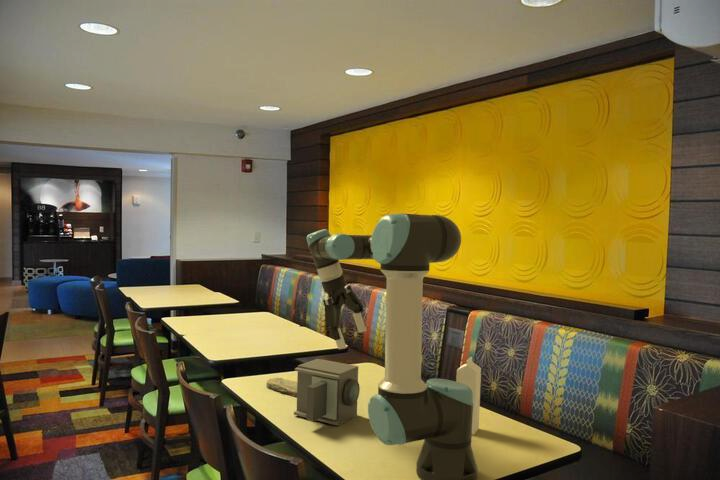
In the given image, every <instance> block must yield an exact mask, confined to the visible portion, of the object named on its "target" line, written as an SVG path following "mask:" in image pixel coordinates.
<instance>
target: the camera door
mask: <svg viewBox="0 0 720 480" xmlns="http://www.w3.org/2000/svg"><path fill="white" fill-rule="evenodd" d="M337 387H338V380H333V379H329V378H324V377H319V376H314V375H313V376H312V385H310V386H307V418H306V421H310V422H314V421H317V419H319V418H321V417H325V418H329V419H333V420H336V419H337Z"/></svg>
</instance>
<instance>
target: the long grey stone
mask: <svg viewBox="0 0 720 480" xmlns="http://www.w3.org/2000/svg"><path fill="white" fill-rule="evenodd" d="M265 387H266V388H267V389H271V390H273V391H276V392H280V393H282V394H286V395H288V394H289V396H292V395H293V397H295V398H297V381H294V380H289V379H285V378H283V377H281V378H280V377H273V378H269V379H267V381H266V386H265Z"/></svg>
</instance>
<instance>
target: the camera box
mask: <svg viewBox="0 0 720 480" xmlns="http://www.w3.org/2000/svg"><path fill="white" fill-rule="evenodd" d="M294 371H295V372H297V380H296V382H297V397H296V410H295V411H293V416H294V415H295V416H298V417H301V418H307V386H310V385H312V376H313V375H314V376H319V377H324V378H329V379H333V380H338V387H337V419H336V420H333V419H329V418H325V417H321V418H319V419H317V420H316V421H318V422H320V423H321V422H322V423H327V424H329V425H333V426H337V427H339V426H340V425H342V424H345V423H346V422H347V421H350V420H351V419H353V418H356V416H358V399H359V396H360V390H361V387H360V384H359V366H358V365H355V364H354V365H353V364H349V363H343V362H339V361H332V360H327V359H322V358H321V359H320V358H316V359H312V360H310V361H307V362H304V363H301V364H299V365H297V367H295V368H294Z"/></svg>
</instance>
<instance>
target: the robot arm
mask: <svg viewBox="0 0 720 480" xmlns="http://www.w3.org/2000/svg"><path fill="white" fill-rule="evenodd" d="M306 242H307V247H308V248H309V252H310V254H311V256H312V261H313V262H314V266H315V268H316V272H317V274H318V277H319V280H320V281H321V283H320V284H321V286H322V289H323V292H324V293H326V294H327V295H328V296H327V297H326V298H323V300H322V301H323V306H324V319H325V321H324V322H325V330H326V331H328V332H331V334H332V336H333V339H334V341H335V343H336V346H337V349H338V350H343V349H346V348H347V345H346V342H345V339H344V336H343V333H342V330H341V328H340V327H339V320H340V319H339V318H340V309H342V306H343V305H345V307H347V308H348V309H349V310H350V311H352V312H353V313H352V316H353V319H354V322H355V325H356V328H357V332H358V333H365V332H367V328H366V325H365V321H364V319H363V318H364V317H363V315H362V313H361V312H363V311H364V305H363V303H362V302H361V301H360V299H359V298H358V296H357V295H356V294H355V292H354V290H353V289H352V286H351V285H350V284H347V281H346V278H345V275H343V274H344V273H343V272H344V271H343V269H342V266H341V264H340V260H342V261H343V260H344V261H345V260H349V261H350V260H374V261H375V262H376V263H378V264H380V268H379V269H380V272H381V273H382V274H383V275H384V276H385V278H386V288H385V289H386V290H385V291H386V297H385V298H386V300H385V348H384V349H385V352H384V355H385V356H384V377H383V379H381V380H380V382H378V386H377V387H378V390H377V391H378V392H377V393H378V394H374V395H372V396H371V397H370V398H369V401H368V405H367V414H368V421H369V422H370V423H369V424H370V426H371V430H372V431H373V432H374V435H375V436H376V437H377V439H378V440H379V441H380V442H381V443H383V444H384V445H387V446H395V445H399V446H401V445H405V444H409V443H413V442H414V443H415V442H418V441H423V440H424V441H423V444H422V447H421V449H420V452H419V453H418V454H419V455H418V457H417V460H416V468H415V469H416V470H415V472H416V475H417V476H418V478H420V480H478V471H479V470H478V466H477V463H476V462H477V460H476V458H475V454H474V452H473V448H472V447H473V446H472V436H473V435H472V415H473V405H474V404H473V393H472V390H471V389H470V388H469V387H468V386H466V385H464V384H462V383H459V382H456V381H457V380H455V381H454V380H450V379H446V378H430V379H429V378H428V379H427V380H426V382H425V381H424V380H422V347H423V346H422V343H423V342H422V339H423V337H422V335H423V334H422V333H423V331H422V330H423V295H424V294H423V290H424V288H423V286H424V285H423V284H424V282H423V281H424V278H425V277H426V275H427V274H429V273H430V266H431V265H430V264H432V263H433V264H434V263H442V262H446V261H449V260H450V259H452V258H453V257H454V256H455V255H456V254H457V253H458V252H459V249H460V248H461V244H462V235H461V230H460V228H459V227H458V225H457V224H456V222H454V221H453V220H452V219H451V218H449V217H446V216H445V215H444V216H443V215H440V214H439V215H438V214H431V215H430V214H416V213H402V212H401V213H390V214H386V215H384V216H382V217H381V218H380V219H379V220H378V222H377V224H376V225H375V227H374V228H373V231H372V234H371V235H370V234H369V235H368V234H363V235H362V234H347V233H334V234H332V235H331V234H330V231H329V229H327V228H323V229H320V230H317V231H314V232H312V233H310V234H309V233H308V234H307V236H306Z"/></svg>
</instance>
